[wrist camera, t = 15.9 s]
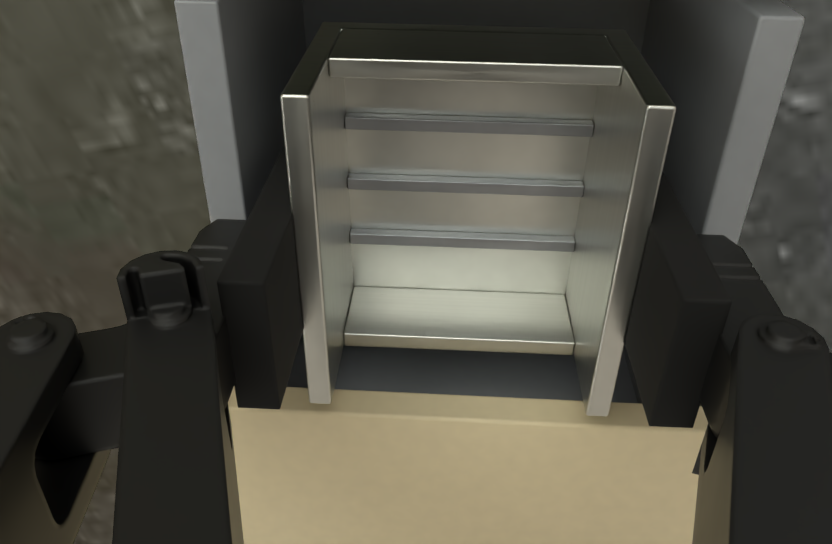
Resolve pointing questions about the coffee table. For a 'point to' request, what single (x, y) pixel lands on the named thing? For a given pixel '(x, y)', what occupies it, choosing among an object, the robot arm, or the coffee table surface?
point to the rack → (472, 192)
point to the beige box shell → (461, 471)
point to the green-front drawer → (509, 7)
